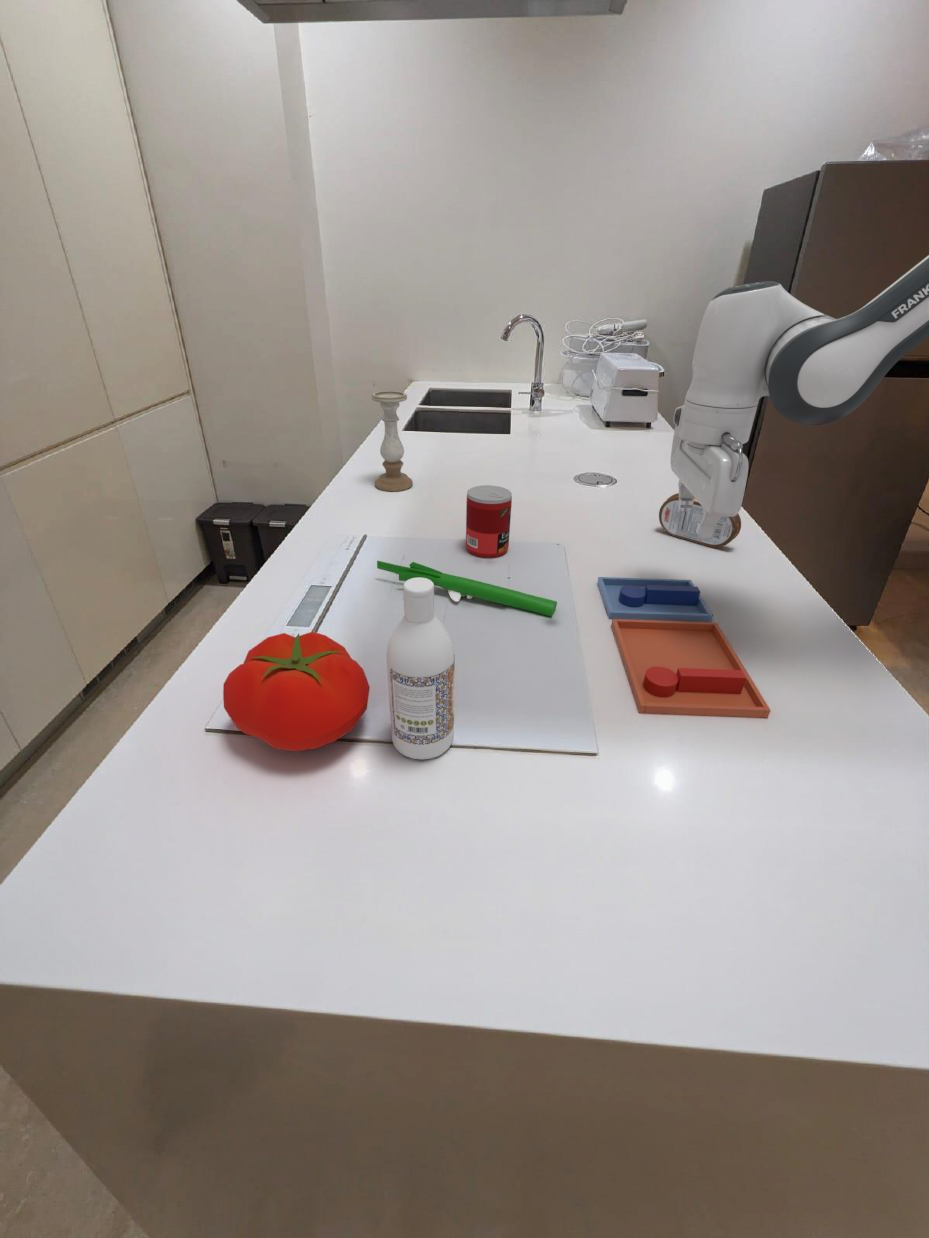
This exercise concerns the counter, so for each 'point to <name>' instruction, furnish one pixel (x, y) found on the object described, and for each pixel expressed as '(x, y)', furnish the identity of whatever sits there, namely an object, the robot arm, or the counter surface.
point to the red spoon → (692, 681)
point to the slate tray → (649, 611)
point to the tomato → (296, 692)
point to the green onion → (472, 588)
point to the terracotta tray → (683, 649)
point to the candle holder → (391, 444)
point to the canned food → (488, 520)
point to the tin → (687, 523)
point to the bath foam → (421, 676)
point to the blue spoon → (658, 595)
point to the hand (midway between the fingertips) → (693, 522)
